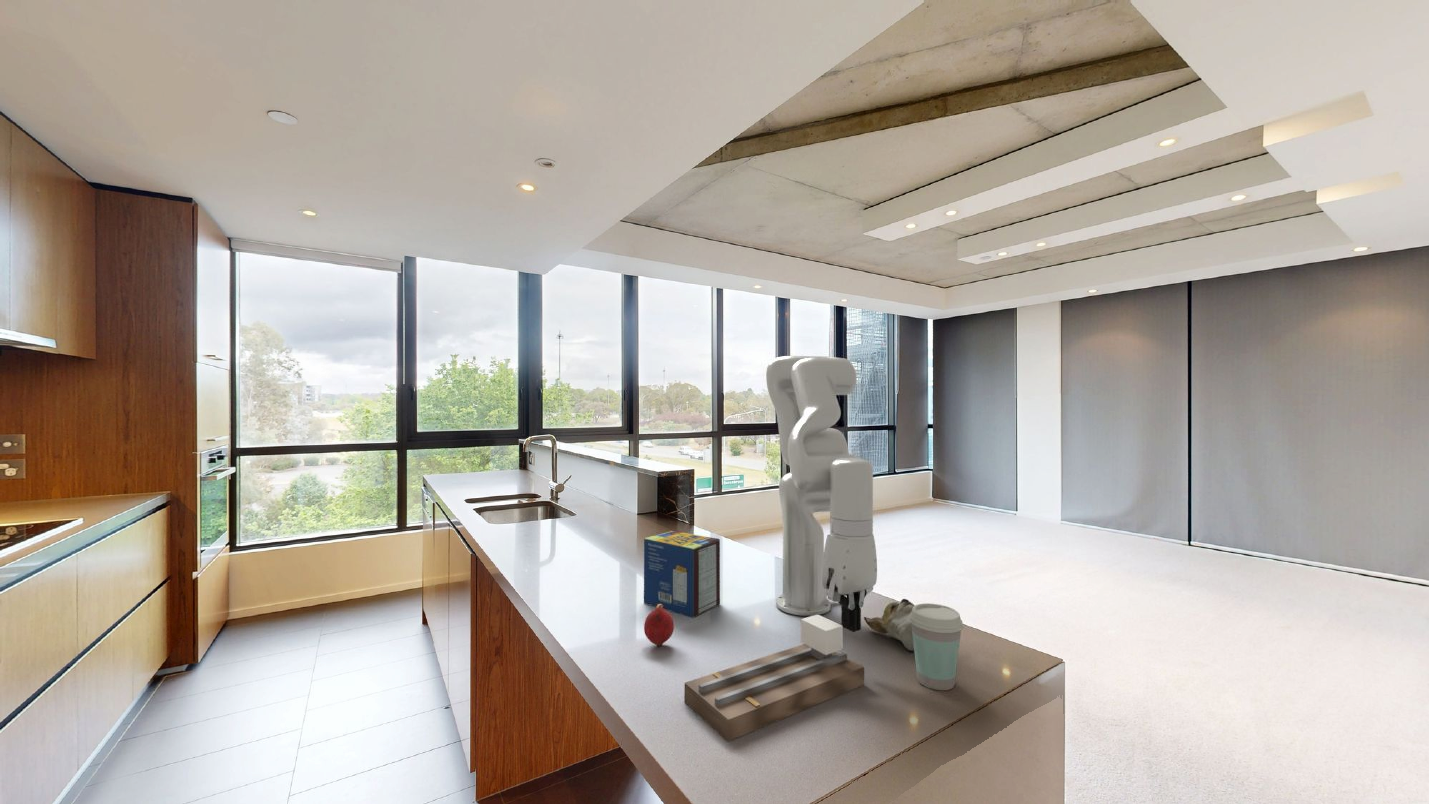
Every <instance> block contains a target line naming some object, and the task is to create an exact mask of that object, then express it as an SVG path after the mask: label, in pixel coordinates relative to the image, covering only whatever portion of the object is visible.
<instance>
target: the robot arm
mask: <svg viewBox="0 0 1429 804" xmlns="http://www.w3.org/2000/svg"><path fill="white" fill-rule="evenodd" d="M765 374H766V376H765V377H766V378H765V380H766V388H767V392H768V396H769V398H770V400H771V402H772V405H773V407H774V410H775V414H776V418H777V425H778V426H777V428H778V437H779V445H780V453H781V457H782V460H783V462H784V463H785V464H786V465H787V466H789V469H790V472H788V473H786V474H784V475H783V476H782V477H781V478H780V480H779V484H778V493H779V500H780V506H781V514H782V516H781V517H782V594H781V595H779V596H777V597H776V599H775V606H776V607H777V608H778V610H780V611H782V612H784V613H787V614H791V615H795V616H804V617H810V616H814V615H817V614H818V615H820V616H821V615H823V614H826V613H828V612H829V611H830V610H831V607H832V606H831V601H832V602H836V603H838V605H839V606H840V609H841V615H840V616H841V617H840V618H841V624H840V625H842V626H843V629H846V630H848V631H850V632H853V633H855V632H857V631H861V629H862V608H863V606H864V602H865V598H866V596H867V595H869V594H870V593H871V592H872V591H873V590H874V587H875V585H877V580H878V561H877V560H878V558H877V556H878V555H877V548H876V547H877V546H876V542H875V541H876V539H875V536H874V528H873V527H874V515H873V514H874V505H873V504H874V498H873V497H874V492H873V491H874V470H873V469H874V468H873V465H872V463H871V462H870V461H869V460H867V459H865V458H864V459H863V458H860V457H859V456H858V455H855V454H850V452H849V447H848V442H847V439H846V437H845V435H844V434H843V432H842V431H841V430H839V429H836V428H833V426H834V425H835V424H836V423H837V422H838V421H839V420H840V418H841V414H842V413H841V412H842V411H841V407H840V404H839V401H838V398H837V396H847V395H850V394H851V393H853V391H854V390H855V388H856V386H857V371H856V369H855V367H854V365H853V364H852V362H851V361H850V360H848V359H847V358H844V357H843V358H842V357H836V356H835V357H834V356H823V355H822V356H817V355H815V356H813V355H811V356H809V355H784V356H779V357H776V358H773V359H771V360H770V361H769V363H767V367H766V373H765ZM819 512H822V513H823V512H829V516H830V517H829V519H830V521H829V531H830V532H829V534H827V536H826V540H825V534H824V533H825V532H824V529H823V527H822V525H821V523H820V522H819V521H818V520H817V519H816V518H815V516H814V513H819Z"/></svg>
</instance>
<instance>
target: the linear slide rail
mask: <svg viewBox="0 0 1429 804" xmlns="http://www.w3.org/2000/svg"><path fill="white" fill-rule="evenodd" d="M864 685H865V666H863V665H862V664H860V663H858V662H856V661H854V660H852V659H850V658H848V653H846V652H844V651H842V652H837V651H836V652H833V653H832V656H831V657H828V658H825V659H822V660H819V659H817V658H815V657H813V656H812V655H811V647H810V646H808V645H806V644H804V643H802V644H800V645H797V646H794V647H791V648H788V649H784V650H781V651H778V652H775V653H772V654H769V655H765V656H763V657H760V658H757V659H753V660H751V661H747V662H745V663H741V664H738V665H735V666H732V667H728V668H726V669H725V668H724V669H723V670H719V671H717V672H713V673H710V674H708V675H704V676H701V677H698V678H695V679H692V680H689V681H686V682H684V699H683V700H684V703H685V704H686V705H687V706H689V707H690V708H691V710H693V711H694V712H695V713H696V714H697V715H699V717H700V718H702V719H703V720H704V721H705V722H706V723H707V724H708V725H710V727H712V728H713V729H714V730H715V731H716V732H717V733H718V734H720V735H721V736H722V737H723V738H724V740H726V741H728V742H730V741H732V740H735V739H737V738H739V737H742V736H744V735H746V734H749V733H751V732H755V731H756V730H759V729H761V728H764V727H767V726H768V725H771V724H773V723H775V722H778V721H780V720H783V719H785V718H787V717H791V716H792V715H795V714H797V713H799V712H802V711H805V710H807V709H809V708H812V707H814V706H817V705H818V704H821V703H823V702H826V701H829V700H831V699H833V698H835V697H838V696H841V695H843V694H845V693H847V692H850V691H853V690H855V689H857V688H860V687H862V686H864Z"/></svg>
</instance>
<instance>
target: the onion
mask: <svg viewBox="0 0 1429 804" xmlns="http://www.w3.org/2000/svg"><path fill="white" fill-rule="evenodd" d="M674 623H675V622H674V618H673V616H672V615H671V613H670V612H668V610H665V609H663V605H662V604H658V605H657V607H656V606H655V609H653V610H652V611H650V613H649V614H648V615H647V616H646V618H645V620H644V624H643V625H644V626H643V627H644V628H643V629H644V635H645V637H646V639H647V640H648V641H649V642H650V643H652V644H653V645H656V646H657V647H660V646H662V645H664V644H665V643H666V642H667V641H668V640H669V639H670V638H671V637H672V635H673V634H674V631H675V630H674V629H675V624H674Z"/></svg>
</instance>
